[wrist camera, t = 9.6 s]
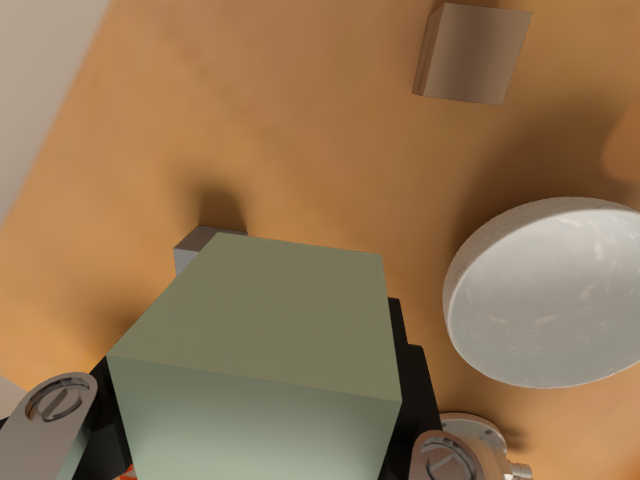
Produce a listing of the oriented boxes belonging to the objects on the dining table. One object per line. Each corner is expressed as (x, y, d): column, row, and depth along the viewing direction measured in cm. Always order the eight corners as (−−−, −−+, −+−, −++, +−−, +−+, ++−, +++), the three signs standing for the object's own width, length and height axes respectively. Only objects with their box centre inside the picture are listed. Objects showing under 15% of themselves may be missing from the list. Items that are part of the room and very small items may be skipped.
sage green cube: (381, 254, 10) (402, 401, 5) (355, 373, 12) (355, 547, 8) (217, 232, 10) (105, 355, 6) (222, 352, 12) (145, 509, 8)
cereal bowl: (538, 136, 26) (596, 155, 20) (667, 252, 29) (752, 300, 23) (394, 277, 33) (403, 324, 27) (510, 358, 36) (543, 418, 30)
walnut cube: (499, 25, 23) (532, 12, 19) (476, 101, 25) (501, 106, 21) (428, 16, 23) (444, 2, 19) (411, 93, 26) (423, 96, 21)
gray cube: (247, 231, 32) (230, 256, 28) (247, 274, 35) (231, 303, 30) (198, 225, 33) (173, 248, 28) (201, 267, 35) (178, 295, 30)
